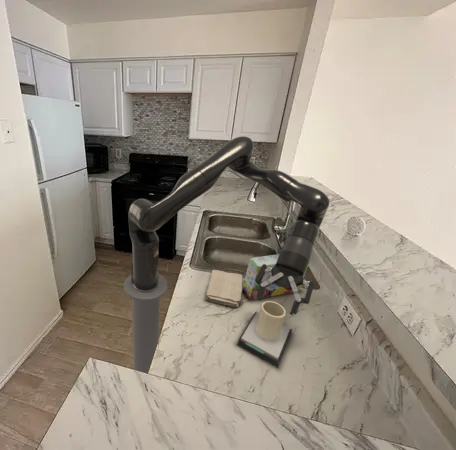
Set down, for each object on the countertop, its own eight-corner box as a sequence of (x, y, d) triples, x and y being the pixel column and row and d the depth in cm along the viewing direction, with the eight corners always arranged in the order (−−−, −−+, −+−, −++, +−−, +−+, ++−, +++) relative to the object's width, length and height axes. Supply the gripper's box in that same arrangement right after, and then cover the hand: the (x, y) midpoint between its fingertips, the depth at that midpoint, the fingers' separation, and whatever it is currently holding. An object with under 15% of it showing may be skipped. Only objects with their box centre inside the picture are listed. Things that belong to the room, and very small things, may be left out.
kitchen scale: (237, 345, 73) (238, 338, 72) (254, 316, 83) (256, 309, 82) (277, 367, 67) (279, 360, 66) (290, 333, 77) (293, 327, 76)
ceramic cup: (252, 333, 73) (258, 309, 69) (259, 320, 78) (265, 297, 74) (274, 345, 70) (282, 321, 66) (281, 331, 74) (288, 307, 70)
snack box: (250, 302, 89) (258, 266, 82) (241, 291, 94) (248, 257, 87) (300, 291, 94) (311, 257, 88) (289, 282, 99) (299, 249, 92)
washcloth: (204, 301, 89) (205, 295, 87) (211, 272, 104) (212, 266, 103) (240, 310, 85) (241, 303, 84) (241, 278, 101) (242, 272, 99)
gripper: (321, 268, 73) (302, 321, 69) (270, 251, 81) (250, 298, 77) (324, 260, 66) (303, 318, 63) (268, 242, 74) (247, 293, 71)
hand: (274, 307), depth 70 cm, fingers open, 8 cm apart
